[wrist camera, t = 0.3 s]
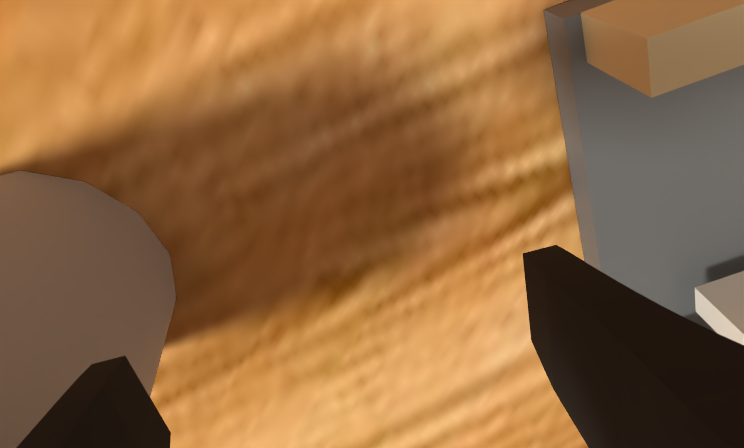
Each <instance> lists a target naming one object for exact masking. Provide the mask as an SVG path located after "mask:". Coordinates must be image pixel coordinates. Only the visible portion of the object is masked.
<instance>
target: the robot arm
mask: <svg viewBox="0 0 744 448" xmlns="http://www.w3.org/2000/svg"><path fill="white" fill-rule="evenodd" d="M523 261H524V271H525V281H526V291H527V301H528V311H529V321H530V331H531V340H532V343H533V345H534V347H535V349H536V352H537V354H538V356H539V358H540V361H541V363H542V365H543V367H544V370H545V372H546V374H547V376H548V378H549V380H550V382H551V385H552V387H553V389H554V391H555V392H556V394H557V396H558V397H559V399H560V401H561V402H562V404H563V406H564V407H565V409H566V411H567V412H568V414H569V416H570V417H571V419H572V421H573V422H574V424H575V426H576V427H577V429H578V431H579V432H580V434H581V435H582V437H583V439H584V440H585V442H586V444H587V445H588V447H589V448H744V345H742V344H740V343H737V342H735V341H733V340H731V339H728V338H726V337H724V336H722V335H720V334H718V333H716V332H714V331H711V330H709V329H707V328H705V327H703V326H701V325H699V324H697V323H695V322H693V321H691V320H689V319H687V318H685V317H683V316H681V315H679V314H677V313H675V312H673V311H671V310H669V309H667V308H665V307H663V306H661V305H659V304H658V303H656V302H654V301H652V300H650V299H648V298H646V297H645V296H643V295H641V294H639V293H637V292H636V291H634V290H632V289H630V288H629V287H627V286H625V285H623V284H622V283H620V282H618V281H616V280H615V279H613V278H611V277H610V276H608V275H606V274H604V273H603V272H601V271H599V270H598V269H596V268H594V267H593V266H591V265H589V264H588V263H586V262H584V261H583V260H581V259H579V258H578V257H576V256H574V255H573V254H571V253H569V252H568V251H566V250H564V249H563V248H561V247H559V246H557V245H554V246H550V247H546V248H542V249H538V250H535V251H531V252H527V253H523ZM170 436H171V432H170V431H169V429H168V427H167V426H166V424H165V422H164V421H163V419H162V417H161V415H160V414H159V412H158V410H157V409H156V407H155V405H154V403H153V402H152V400H151V398H150V397H149V395H148V393H147V392H146V390H145V388H144V386H143V385H142V383H141V381H140V380H139V378H138V376H137V375H136V373H135V371H134V369H133V368H132V366H131V364H130V363H129V361H128V359H127V357H126V356H121V357H118V358H114V359H110V360H106V361H102V362H98V363H94V364H91V365H90V366H89V367H88V368H87V369H86V370H85V371H84V372H83V373H82V374H81V375H80V376H79V378H78V379H77V380H76V381H75V382H74V383H73V384H72V385H71V386H70V387H69V388H68V390H67V391H66V392H65V393H64V394H63V395H62V396H61V397H60V399H59V400H58V401H57V402H56V403H55V404H54V405H53V406H52V408H51V409H50V410H49V411H48V412H47V413H46V414H45V416H44V417H43V418H42V419H41V420H40V421H39V422H38V424H37V425H36V426H35V427H34V428H33V429H32V430H31V432H30V433H29V434H28V435H27V436H26V437H25V438H24V439H23V441H22V442H21V443H20V444H19V445H18V446H17V447H16V448H170Z"/></svg>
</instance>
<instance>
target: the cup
mask: <svg viewBox="0 0 744 448" xmlns="http://www.w3.org/2000/svg"><path fill="white" fill-rule="evenodd" d="M176 298H177V297H176V290H175V284H174V277H173V271H172V264H171V257H170V254H169V252H168V251H167V250H166V248H165V247H164V246H163V245H162V243H161V242H160V241H159V239H158V238H157V237H156V235H155V234H154V233H153V231H152V230H151V229H150V227H149V226H148V225H147V223H146V222H145V221H144V219H143V218H142V217H141V215H140V214H139V213H138V212H137V211H135V210H133V209H131V208H130V207H128V206H126V205H124V204H123V203H121V202H119V201H118V200H116V199H114V198H112V197H111V196H109V195H107V194H106V193H104V192H102V191H100V190H99V189H97V188H95V187H94V186H92V185H90V184H88V183H87V182H85V181H79V180H73V179H67V178H61V177H56V176H50V175H44V174H38V173H32V172H27V171H16V172H12V173H7V174H3V175H0V448H16V447H17V446H18V445H19V444H20V443H21V442H22V441H23V439H24V438H25V437H26V436H27V435H28V434H29V433H30V432H31V430H32V429H33V428H34V427H35V426H36V425H37V424H38V422H39V421H40V420H41V419H42V418H43V417H44V416H45V414H46V413H47V412H48V411H49V410H50V409H51V408H52V406H53V405H54V404H55V403H56V402H57V401H58V400H59V399H60V397H61V396H62V395H63V394H64V393H65V392H66V391H67V390H68V388H69V387H70V386H71V385H72V384H73V383H74V382H75V381H76V380H77V379H78V378H79V376H80V375H81V374H82V373H83V372H84V371H85V370H86V369H87V368H88V367H89V366H90V365H91V364H94V363H98V362H102V361H106V360H110V359H114V358H118V357H121V356H126V357H127V359H128V361H129V363H130V364H131V366H132V368H133V369H134V371H135V373H136V375H137V376H138V378H139V380H140V381H141V383H142V385H143V386H144V388H145V390H146V392H147V393H148V395H149V397H150V395H151V391H152V388H153V384H154V380H155V377H156V373H157V369H158V365H159V362H160V358H161V354H162V350H163V347H164V343H165V339H166V336H167V332H168V328H169V324H170V321H171V317H172V313H173V310H174V306H175V302H176Z"/></svg>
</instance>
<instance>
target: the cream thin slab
mask: <svg viewBox="0 0 744 448" xmlns="http://www.w3.org/2000/svg"><path fill="white" fill-rule="evenodd" d="M695 308H696V312H697V313H698V314H699V315H700V316H701V317H702V318H703V319H704V320H705V321H706V322H707V323H708V324H709V325H710V326H711V327H712V328H713V329H714V331H715V332H716V333H718V334H720V335H722V336H724V337H726V338H728V339H731V340H733V341H735V342H737V343H740V344H742V345H744V271H742V272H739V273H736V274H733V275H730V276H727V277H724V278H721V279H718V280H715V281H712V282H709V283H707V284H704V285H701V286H698V287H695Z"/></svg>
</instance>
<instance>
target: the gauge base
mask: <svg viewBox="0 0 744 448" xmlns="http://www.w3.org/2000/svg"><path fill="white" fill-rule="evenodd" d="M544 17H545V23H546V29H547V35H548V41H549V47H550V53H551V59H552V65H553V71H554V77H555V84H556V90H557V96H558V102H559V108H560V114H561V120H562V126H563V132H564V138H565V144H566V151H567V157H568V163H569V169H570V175H571V181H572V187H573V193H574V199H575V205H576V211H577V217H578V224H579V230H580V236H581V242H582V248H583V254H584V260H585V262H586V263H588V264H589V265H591V266H593V267H594V268H596V269H598V270H599V271H601V272H603V273H604V274H606V275H608V276H610V277H611V278H613V279H615V280H616V281H618V282H620V283H622V284H623V285H625V286H627V287H629V288H630V289H632V290H634V291H636V292H637V293H639V294H641V295H643V296H645V297H646V298H648V299H650V300H652V301H654V302H656V303H658V304H659V305H661V306H663V307H665V308H667V309H669V310H671V311H673V312H675V313H677V314H679V315H681V316H683V317H685V318H687V319H689V320H691V321H693V322H695V323H697V324H699V325H701V326H703V327H705V328H707V329H709V330H711V331H714V329H713V328H712V327H711V326H710V325H709V324H708V323H707V322H706V321H705V320H704V319H703V318H702V317H701V316H700V315H699V314H698V313H697V312H696V308H695V287H698V286H701V285H704V284H707V283H709V282H712V281H715V280H718V279H721V278H724V277H727V276H730V275H733V274H736V273H739V272H742V271H744V0H569V1H567V2H564V3H561V4H558V5H556V6H553V7H550V8H548V9H545V10H544ZM714 332H715V331H714Z"/></svg>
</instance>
